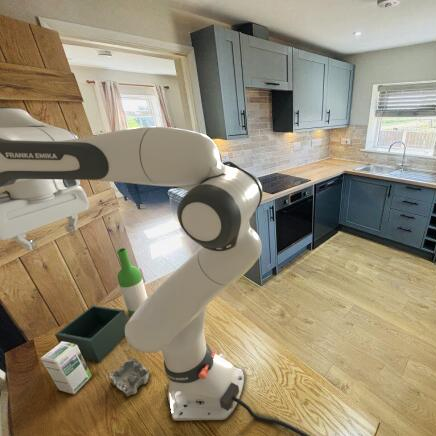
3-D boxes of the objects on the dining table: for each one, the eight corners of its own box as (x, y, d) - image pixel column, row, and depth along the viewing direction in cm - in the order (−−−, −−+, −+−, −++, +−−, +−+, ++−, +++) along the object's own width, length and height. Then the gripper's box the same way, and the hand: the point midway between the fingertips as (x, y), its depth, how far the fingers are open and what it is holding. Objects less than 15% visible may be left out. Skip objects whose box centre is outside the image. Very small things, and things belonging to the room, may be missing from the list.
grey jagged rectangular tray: (109, 381, 74) (105, 373, 72) (134, 362, 80) (131, 353, 78) (128, 401, 69) (124, 392, 68) (153, 378, 75) (150, 370, 74)
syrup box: (74, 395, 70) (56, 362, 65) (58, 390, 71) (39, 357, 66) (92, 376, 75) (77, 344, 70) (77, 372, 77) (61, 340, 71)
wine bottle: (139, 302, 105) (121, 243, 93) (154, 305, 104) (138, 246, 92) (124, 315, 98) (103, 253, 86) (140, 319, 97) (121, 256, 85)
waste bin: (130, 329, 92) (124, 310, 88) (99, 362, 80) (90, 341, 76) (100, 324, 94) (93, 305, 90) (65, 355, 82) (54, 334, 78)
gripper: (-21, 201, 44) (12, 264, 49) (85, 176, 62) (100, 224, 68) (-48, 199, 45) (-12, 260, 50) (64, 175, 63) (81, 222, 69)
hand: (53, 239), depth 59 cm, fingers open, 8 cm apart
